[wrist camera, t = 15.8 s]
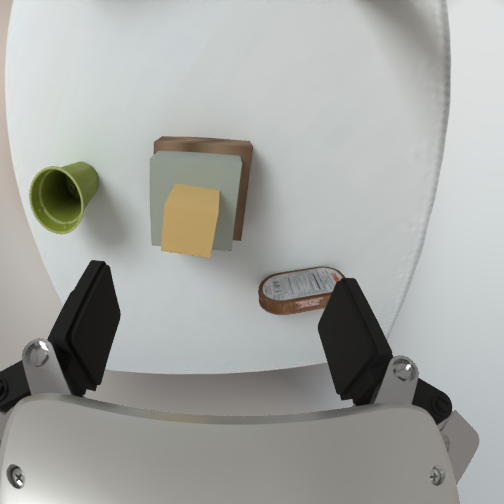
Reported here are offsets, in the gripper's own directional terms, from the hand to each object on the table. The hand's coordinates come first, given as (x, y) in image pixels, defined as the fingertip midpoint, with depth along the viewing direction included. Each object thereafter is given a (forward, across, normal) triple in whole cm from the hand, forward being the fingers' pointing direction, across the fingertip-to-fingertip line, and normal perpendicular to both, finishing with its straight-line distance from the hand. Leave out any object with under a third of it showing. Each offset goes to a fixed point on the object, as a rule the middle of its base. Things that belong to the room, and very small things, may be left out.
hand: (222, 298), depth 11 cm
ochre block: (+20, +3, +6) cm, 21 cm away
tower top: (+24, +3, +6) cm, 25 cm away
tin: (+29, -14, +21) cm, 39 cm away
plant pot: (+29, +22, +6) cm, 37 cm away
